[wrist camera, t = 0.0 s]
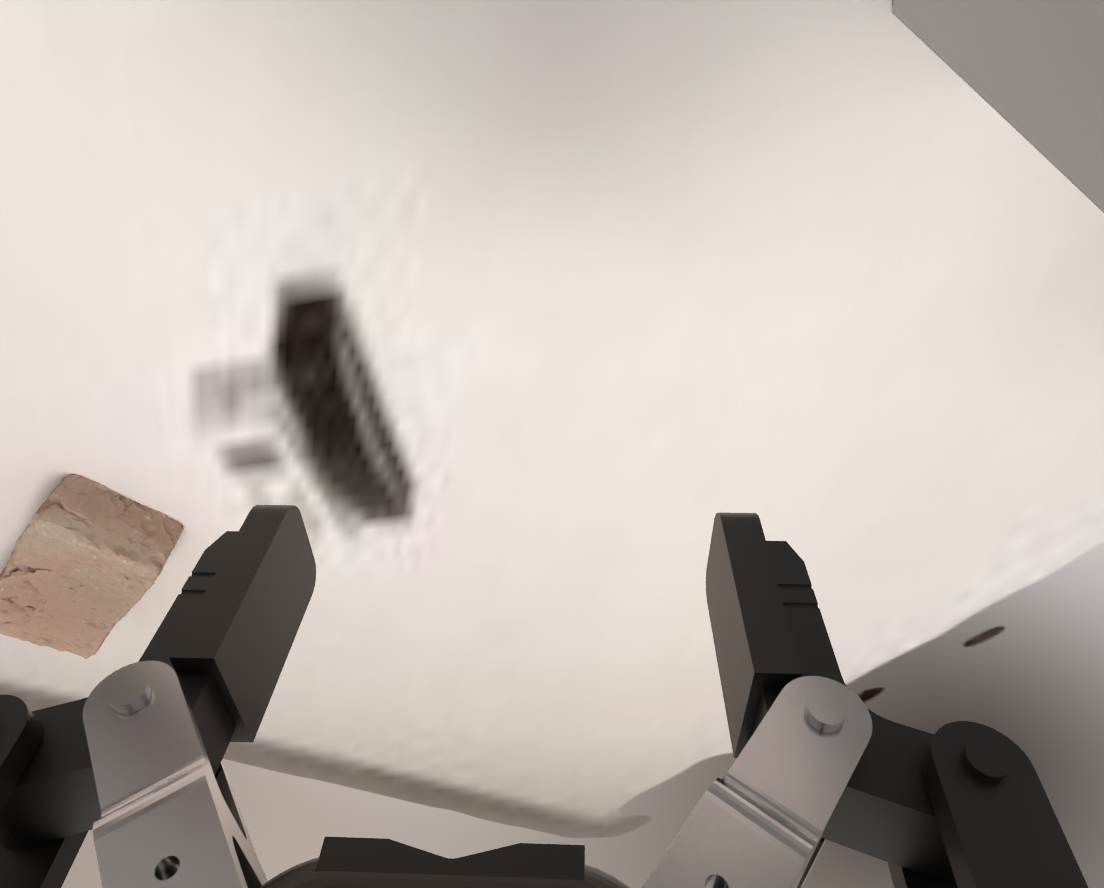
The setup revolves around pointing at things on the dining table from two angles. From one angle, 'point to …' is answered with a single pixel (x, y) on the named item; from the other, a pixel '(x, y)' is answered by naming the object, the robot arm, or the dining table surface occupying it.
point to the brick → (82, 566)
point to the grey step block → (1029, 71)
